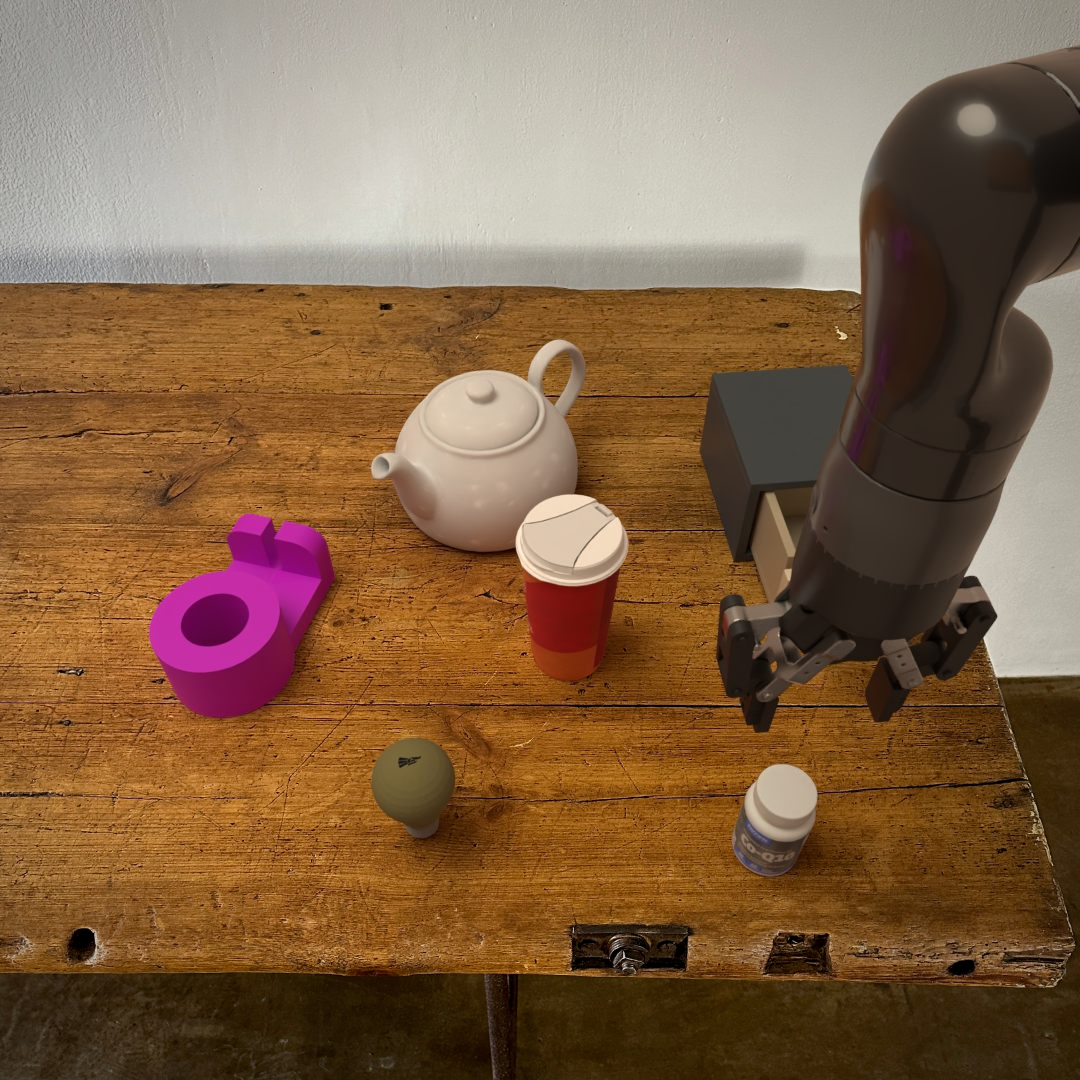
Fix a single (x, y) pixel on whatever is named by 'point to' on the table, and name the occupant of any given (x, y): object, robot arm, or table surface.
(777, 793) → the pill bottle
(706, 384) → the table surface
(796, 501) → the storage drawer
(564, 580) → the coffee cup
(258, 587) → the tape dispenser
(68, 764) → the table surface
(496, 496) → the teapot
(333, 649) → the table surface
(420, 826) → the light bulb
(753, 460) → the cabinet
